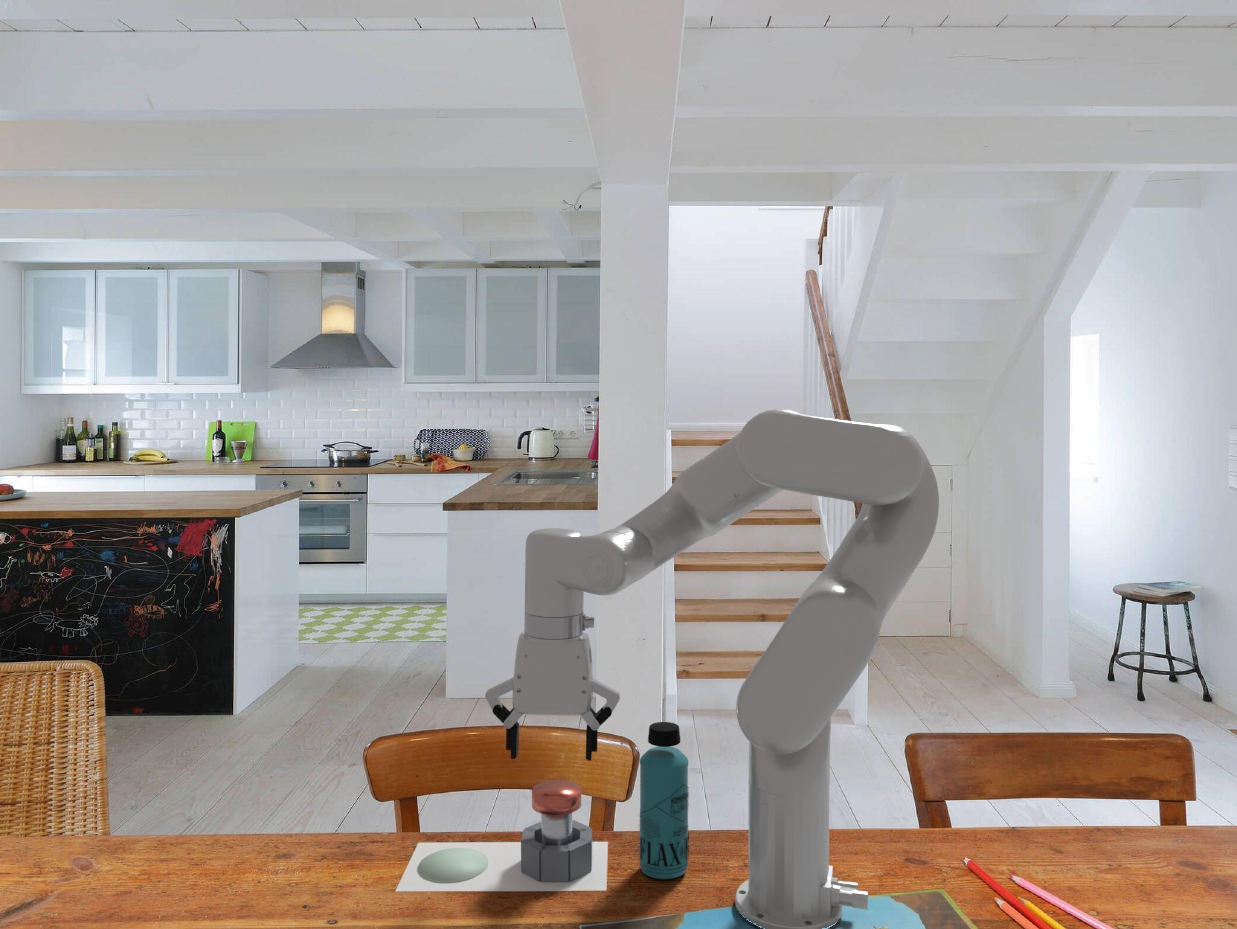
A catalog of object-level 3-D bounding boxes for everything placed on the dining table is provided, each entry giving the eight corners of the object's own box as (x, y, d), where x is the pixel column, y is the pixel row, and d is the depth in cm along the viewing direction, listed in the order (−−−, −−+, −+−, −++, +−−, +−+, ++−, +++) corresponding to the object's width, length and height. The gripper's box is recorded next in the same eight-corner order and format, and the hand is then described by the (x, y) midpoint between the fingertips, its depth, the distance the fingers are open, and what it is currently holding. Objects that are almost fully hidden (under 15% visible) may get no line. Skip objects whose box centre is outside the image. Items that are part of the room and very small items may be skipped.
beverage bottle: (629, 884, 116) (629, 729, 115) (652, 861, 122) (651, 713, 121) (676, 896, 113) (676, 737, 112) (697, 872, 119) (697, 721, 118)
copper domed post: (588, 856, 122) (587, 782, 121) (572, 880, 116) (571, 802, 115) (543, 850, 123) (542, 777, 123) (525, 873, 117) (524, 796, 117)
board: (608, 848, 126) (607, 813, 126) (606, 898, 113) (606, 858, 113) (418, 849, 126) (417, 814, 126) (395, 899, 113) (394, 859, 113)
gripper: (621, 620, 122) (618, 746, 123) (490, 617, 122) (489, 744, 123) (621, 633, 114) (618, 768, 115) (482, 631, 114) (480, 766, 115)
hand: (551, 756), depth 119 cm, fingers open, 9 cm apart
